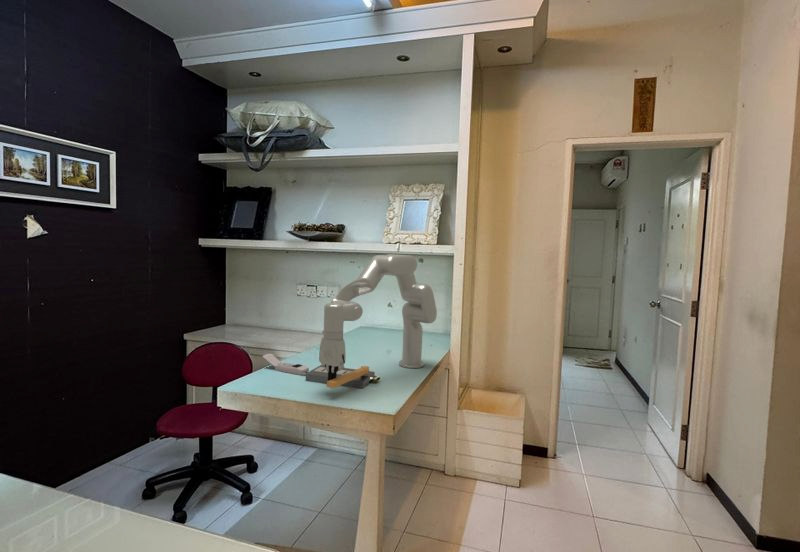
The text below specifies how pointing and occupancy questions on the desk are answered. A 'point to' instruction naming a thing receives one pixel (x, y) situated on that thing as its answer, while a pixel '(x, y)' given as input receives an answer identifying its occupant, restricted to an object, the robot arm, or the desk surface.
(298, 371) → the pale grey angled bar
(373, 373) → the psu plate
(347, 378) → the orange wooden bar
